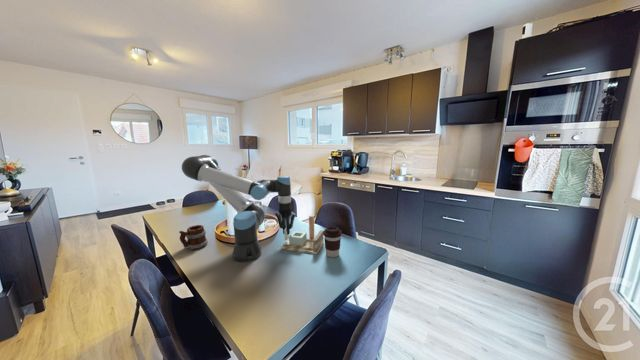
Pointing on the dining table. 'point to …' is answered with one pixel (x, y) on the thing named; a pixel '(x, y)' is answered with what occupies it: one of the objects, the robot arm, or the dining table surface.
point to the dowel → (311, 227)
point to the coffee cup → (332, 241)
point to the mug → (194, 237)
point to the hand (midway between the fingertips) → (286, 239)
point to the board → (307, 245)
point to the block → (297, 238)
